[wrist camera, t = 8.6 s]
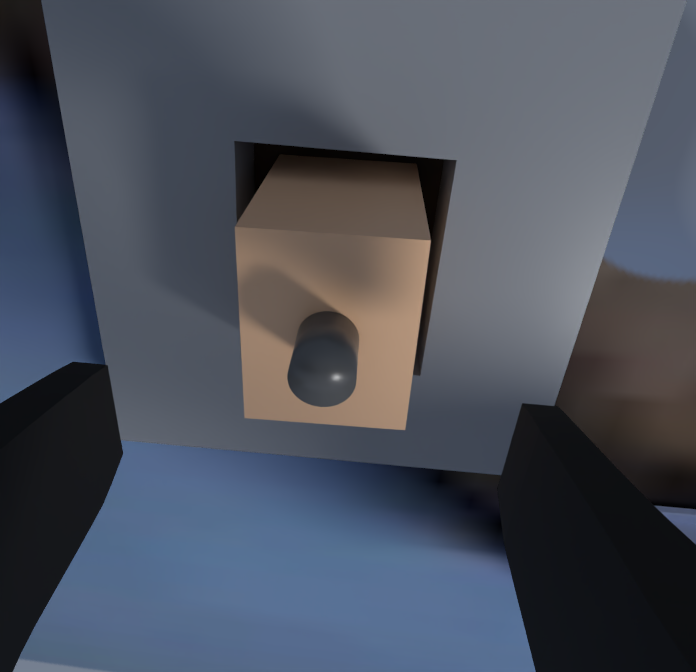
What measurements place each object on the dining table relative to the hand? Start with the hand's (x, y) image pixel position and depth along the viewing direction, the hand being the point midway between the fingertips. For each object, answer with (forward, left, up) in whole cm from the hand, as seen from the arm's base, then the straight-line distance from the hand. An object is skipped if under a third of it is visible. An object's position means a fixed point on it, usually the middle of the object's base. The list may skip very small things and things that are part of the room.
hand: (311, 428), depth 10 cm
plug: (0, 0, -9) cm, 9 cm away
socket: (0, 0, -9) cm, 9 cm away
